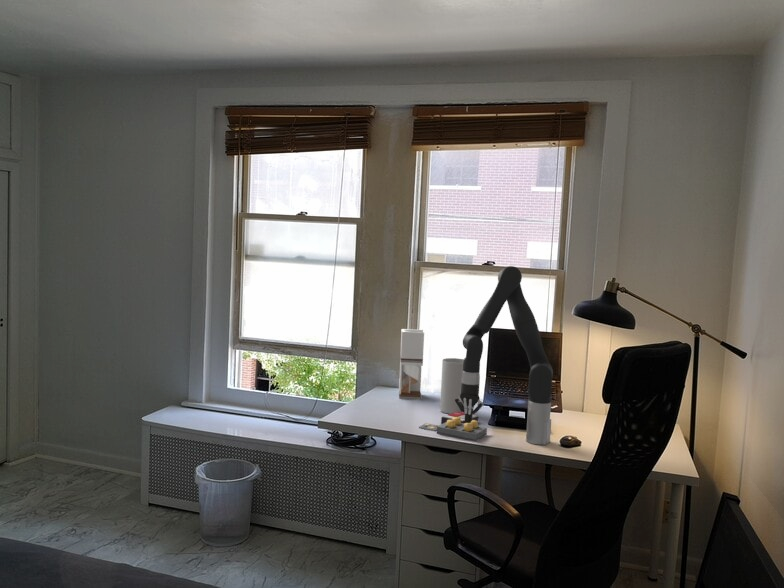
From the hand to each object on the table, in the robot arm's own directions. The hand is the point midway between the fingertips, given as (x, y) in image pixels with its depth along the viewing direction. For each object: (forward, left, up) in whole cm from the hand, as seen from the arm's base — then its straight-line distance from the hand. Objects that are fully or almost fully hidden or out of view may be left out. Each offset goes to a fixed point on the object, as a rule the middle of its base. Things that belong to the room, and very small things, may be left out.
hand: (468, 422), depth 274 cm
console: (+4, -3, -6) cm, 8 cm away
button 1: (+8, 0, -4) cm, 9 cm away
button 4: (0, -6, -4) cm, 7 cm away
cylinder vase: (+23, -35, -7) cm, 42 cm away
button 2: (+8, -6, -4) cm, 10 cm away
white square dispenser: (+54, -48, -7) cm, 72 cm away
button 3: (0, 0, -4) cm, 4 cm away
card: (+19, -3, -6) cm, 20 cm away
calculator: (+12, -18, -7) cm, 22 cm away
